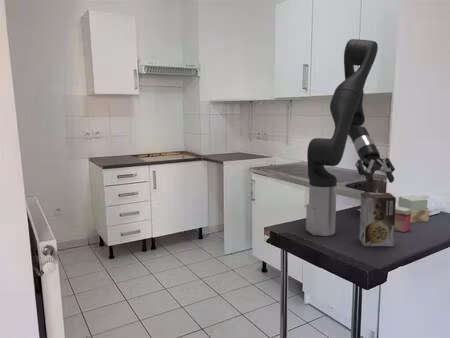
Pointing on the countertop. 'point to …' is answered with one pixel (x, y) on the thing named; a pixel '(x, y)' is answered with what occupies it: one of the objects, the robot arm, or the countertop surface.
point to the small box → (402, 219)
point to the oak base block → (419, 216)
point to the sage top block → (413, 202)
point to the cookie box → (377, 219)
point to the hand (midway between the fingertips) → (382, 182)
